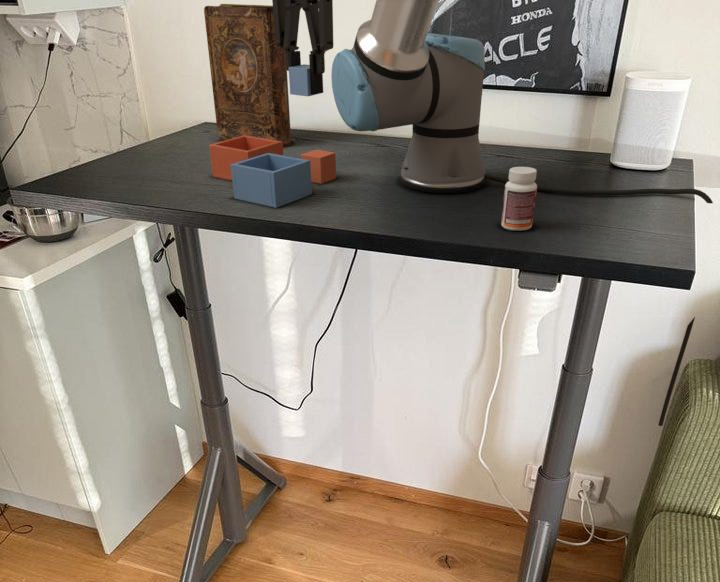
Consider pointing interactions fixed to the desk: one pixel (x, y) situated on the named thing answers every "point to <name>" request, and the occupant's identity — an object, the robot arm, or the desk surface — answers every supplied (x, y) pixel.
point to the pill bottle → (519, 199)
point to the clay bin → (240, 152)
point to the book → (247, 73)
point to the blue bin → (271, 179)
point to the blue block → (300, 80)
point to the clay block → (321, 165)
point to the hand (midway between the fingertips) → (306, 91)
